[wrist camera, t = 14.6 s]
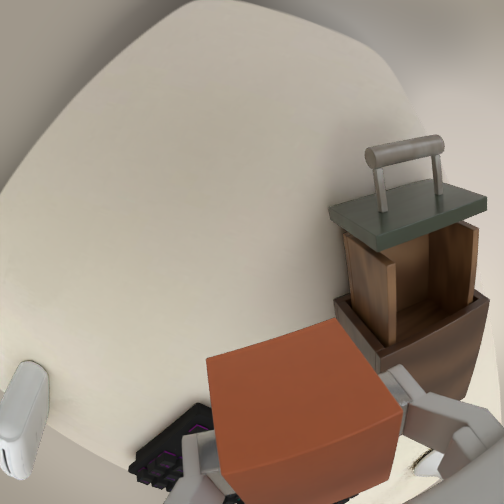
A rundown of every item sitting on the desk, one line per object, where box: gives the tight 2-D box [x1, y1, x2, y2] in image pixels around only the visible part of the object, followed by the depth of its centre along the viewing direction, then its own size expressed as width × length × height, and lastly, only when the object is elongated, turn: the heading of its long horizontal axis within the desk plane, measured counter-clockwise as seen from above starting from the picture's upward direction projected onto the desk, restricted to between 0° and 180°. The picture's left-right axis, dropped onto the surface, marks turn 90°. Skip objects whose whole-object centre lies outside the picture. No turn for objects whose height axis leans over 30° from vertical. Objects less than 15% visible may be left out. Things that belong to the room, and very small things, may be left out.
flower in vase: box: [414, 450, 444, 481], centre depth 43 cm, size 13×11×25 cm
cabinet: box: [334, 289, 490, 436], centre depth 30 cm, size 15×13×10 cm
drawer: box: [328, 135, 487, 348], centre depth 25 cm, size 19×12×8 cm, turn 15°
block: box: [206, 318, 403, 504], centre depth 9 cm, size 4×4×4 cm
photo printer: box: [0, 361, 49, 480], centre depth 23 cm, size 10×4×12 cm, turn 155°
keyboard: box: [128, 403, 359, 504], centre depth 40 cm, size 42×16×5 cm, turn 47°
